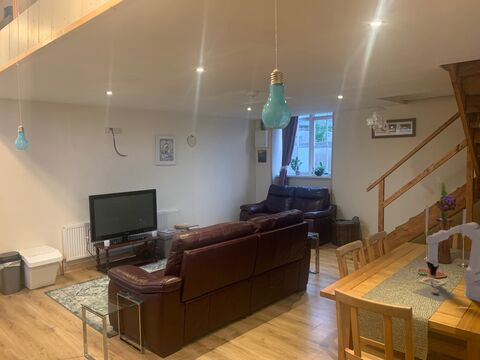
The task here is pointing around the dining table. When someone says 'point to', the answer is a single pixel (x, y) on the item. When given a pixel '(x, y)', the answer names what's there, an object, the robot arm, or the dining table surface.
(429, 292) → the crank base
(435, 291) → the crank
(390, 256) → the dining table surface
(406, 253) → the dining table surface
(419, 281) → the tray
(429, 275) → the block
